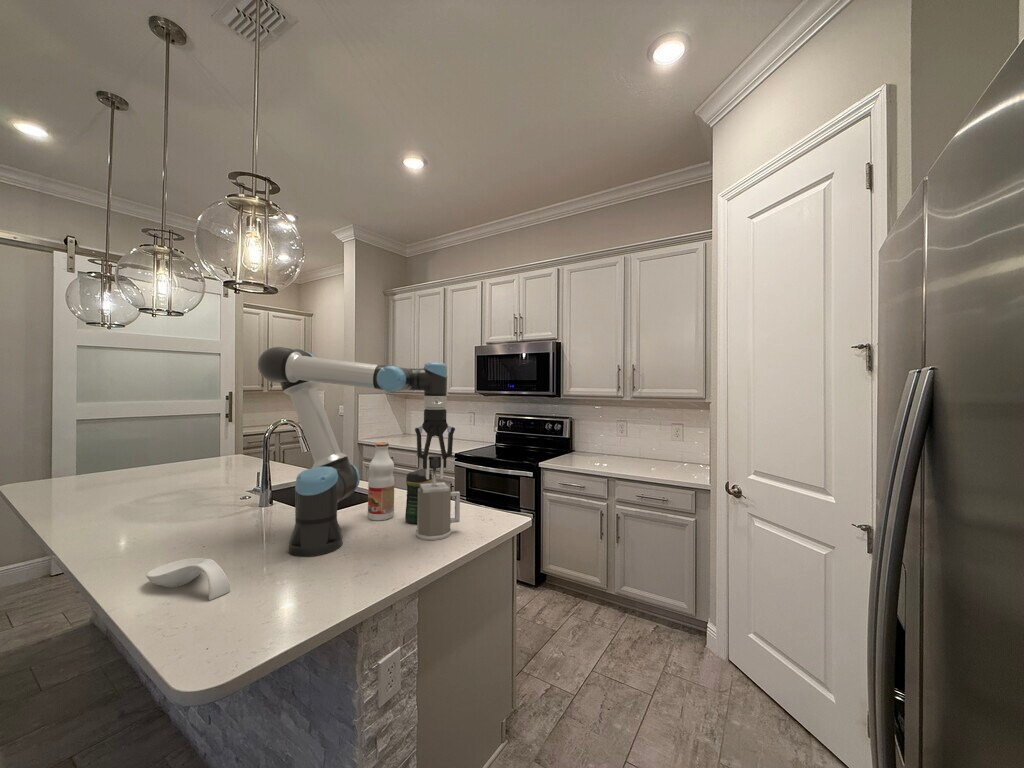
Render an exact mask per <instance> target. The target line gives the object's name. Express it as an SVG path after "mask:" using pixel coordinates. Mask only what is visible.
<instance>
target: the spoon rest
mask: <svg viewBox="0 0 1024 768" xmlns="http://www.w3.org/2000/svg"><path fill="white" fill-rule="evenodd" d="M202 572H203V573H204V574H205V576H206V578H207V582H208V600H209V601H212V600H215V599H216V598H219V597H221V596H224V595H226V594H228V593H229V592H231V584H230V581H229V579H228V576H227V575H226V574H225V572H224V570H223V569H222V567H220V565H219V564H218V563H217V562H216V561H215V560H213V559H211V558H205V557H193V558H192V557H190V558H184V559H179V560H174V561H172V562H168V563H165V564H163V565H160V566H157V567H154V568H153V569H151V570H150V571H148V572H147V573H146V578H147V579H148V581H149V582H150V583H153V585H157V586H161V587H164V588H176V587H181V586H184V585H187V584H189V583H191V582H192V581H193V580H194V579H196V578H197V577H198V576H199V575H200V574H201V573H202Z"/></svg>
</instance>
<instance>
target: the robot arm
mask: <svg viewBox="0 0 1024 768" xmlns="http://www.w3.org/2000/svg"><path fill="white" fill-rule="evenodd" d="M257 361H258V362H257V368H258V371H259V373H260V375H261V376H262V377H263V378H264V379H265V380H266V381H269V382H271V383H275V384H280V386H281V389H282V392H283V394H285V395H288V396H289V397H290V400H291V402H292V404H293V407H294V410H295V412H296V414H297V415H296V416H297V418H298V420H299V423H300V426H301V429H302V432H303V434H304V437H305V440H306V442H307V445H308V448H309V451H310V453H311V456H312V459H313V462H314V463H313V465H312V467H311V468H307V469H305V470H303V471H301V472H300V473H298V474H297V476H296V478H295V484H294V485H295V486H294V491H295V507H294V508H295V516H294V517H295V518H294V521H295V523H294V526H293V529H292V532H291V535H290V538H289V541H288V543H287V545H288V547H287V548H288V550H287V551H288V553H289V554H291V555H293V556H297V557H313V556H320V555H325V554H328V553H331V552H334V551H336V550H338V549H339V548H341V547H342V545H343V538H344V537H343V532H342V530H341V528H340V524H339V521H338V503H340V502H341V501H343V500H344V499H347V498H349V497H350V496H352V494H353V493H354V492H355V491H356V490H357V489H358V488H359V484H360V480H361V476H360V472H359V470H358V468H357V467H356V466H355V464H353V463H351V462H350V460H349V458H348V456H347V454H345V453H343V452H341V450H340V447H339V444H338V441H337V439H336V436H335V433H334V431H333V428H332V426H331V422H330V420H329V417H328V414H327V412H326V409H325V406H324V404H323V401H322V398H321V396H320V393H319V390H318V387H319V384H320V383H325V384H332V385H340V386H348V387H357V388H366V389H374V390H375V389H376V390H383V391H386V392H393V393H395V392H406V391H408V392H409V391H410V392H411V391H418V392H421V391H423V407H424V408H425V409H423V423H422V425H421V426H419V427H415V428H414V432H415V435H416V456H417V457H418V458H419V459H422V469H426V479H429V470H430V468H429V451H430V446H431V443H432V438H433V437H437V438H438V441H439V442H438V443H439V448H440V452H441V467H440V468H439V478H440V479H444V469H445V468H447V459H448V458H450V457H452V456H453V444H454V441H453V440H454V433H455V431H456V428H455V427H453V426H450V425H449V424H448V422H447V411H448V410H447V409H446V408H447V406H448V405H447V399H448V397H447V395H448V394H447V392H448V391H447V389H448V388H447V387H448V372H447V371H448V369H447V368H448V367H447V365H446V363H444V362H426V363H424V366H423V367H422V368H408V367H400V366H399V367H398V366H395V365H383V364H374V363H367V362H366V363H365V362H359V361H350V360H340V359H334V358H333V359H332V358H324V357H315V356H314V355H313V354H312V353H311V352H309V351H305V350H303V349H299V348H296V349H295V348H294V349H293V348H288V347H282V346H274V347H273V346H272V347H271V348H268V349H265V351H263V352H262V354H260V356H259V358H258V360H257ZM423 430H424V432H425V433H426V439H425V442H424V443H425V444H424V449H422V448H423V447H422V434H423ZM446 430H447V433H448V434H447V451H446V445H445V439H444V432H446ZM422 450H423V451H422Z"/></svg>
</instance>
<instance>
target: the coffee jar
mask: <svg viewBox="0 0 1024 768" xmlns="http://www.w3.org/2000/svg"><path fill="white" fill-rule="evenodd" d="M405 481H406V506H405V514H404V515H405V517H404V520H405V522H407V523H409V524H417V507H418V488H420V484H426V483H433V472H432V471H431V470H430V469H429V479H426V469H423V468H420V469H418V470H414V471H410V472H408V473H406V479H405Z"/></svg>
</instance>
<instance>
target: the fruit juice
mask: <svg viewBox="0 0 1024 768" xmlns="http://www.w3.org/2000/svg"><path fill="white" fill-rule="evenodd" d="M374 447H375V453H374V456H373V458H372V459H371V461H370V463H369V464H368V470H369V477H368V482H367V483H368V484H367V486H368V488H367V489H368V490H367V517H368V519H369V520H371V521H384V520H390V519H392V518H393V517H394V515H395V477H394V476H395V475H394V470H395V463H394V461H393V460H392V459H393V458H391V457H390V453H389V447H390V444H389V442H385V441H381V442H380V441H379V442H376V443H375V444H374Z"/></svg>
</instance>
